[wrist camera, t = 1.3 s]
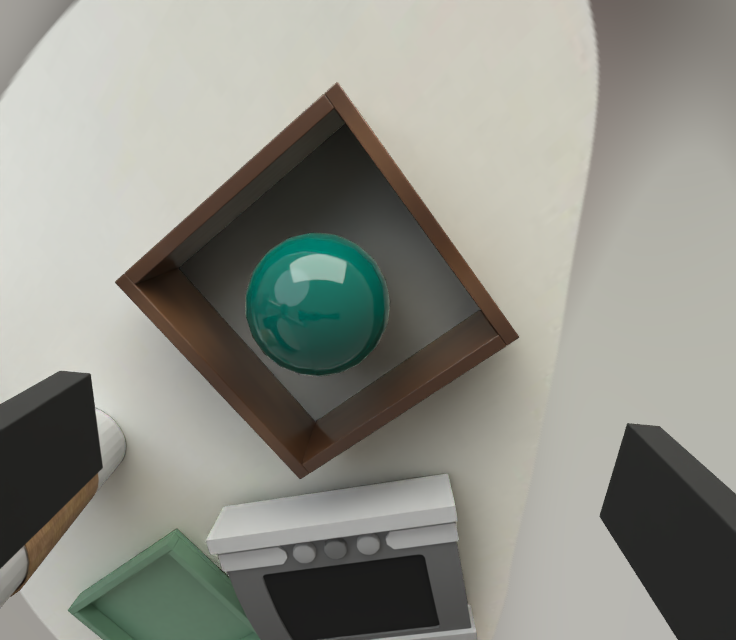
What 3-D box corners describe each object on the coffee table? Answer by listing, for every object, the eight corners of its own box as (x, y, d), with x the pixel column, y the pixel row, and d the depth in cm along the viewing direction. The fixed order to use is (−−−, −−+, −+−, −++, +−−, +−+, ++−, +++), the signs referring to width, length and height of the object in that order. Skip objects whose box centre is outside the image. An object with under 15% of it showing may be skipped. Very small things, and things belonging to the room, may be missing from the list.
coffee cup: (34, 473, 33) (-234, 688, 19) (31, 377, 31) (-280, 544, 16) (139, 496, 33) (-47, 727, 19) (146, 403, 31) (-65, 589, 17)
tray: (80, 593, 37) (66, 610, 35) (176, 528, 34) (167, 544, 33) (178, 676, 40) (170, 695, 38) (276, 621, 37) (271, 640, 35)
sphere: (280, 211, 26) (235, 221, 19) (405, 244, 27) (411, 268, 19) (258, 329, 29) (210, 380, 21) (372, 358, 29) (366, 420, 21)
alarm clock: (455, 505, 28) (486, 687, 32) (445, 463, 32) (474, 627, 36) (205, 540, 29) (266, 709, 33) (229, 495, 34) (281, 649, 38)
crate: (161, 265, 28) (114, 282, 23) (347, 101, 24) (337, 81, 20) (314, 434, 31) (300, 480, 26) (497, 311, 28) (519, 337, 23)
